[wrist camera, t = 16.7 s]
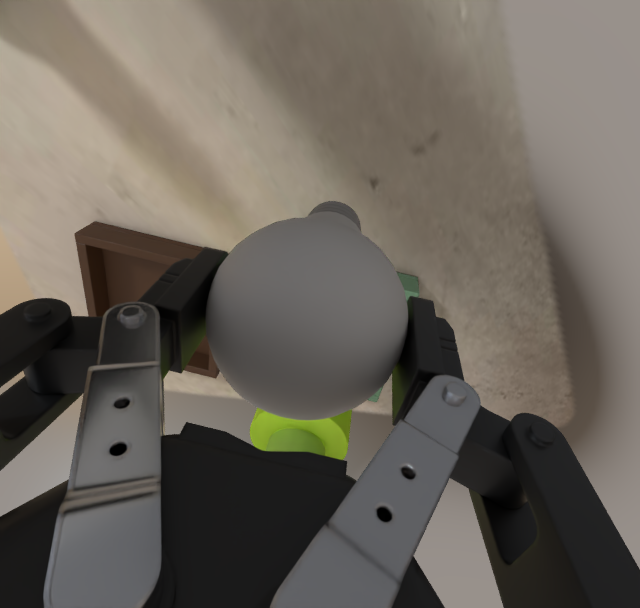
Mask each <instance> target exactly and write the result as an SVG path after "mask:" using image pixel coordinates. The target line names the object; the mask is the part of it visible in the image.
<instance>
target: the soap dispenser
mask: <svg viewBox="0 0 640 608" xmlns="http://www.w3.org/2000/svg"><path fill="white" fill-rule="evenodd" d="M351 413H352V409H351V410H348V411H346V412H344V413H341V414H339V415H337V416H334V417H330V418H325V419H320V420H294V419H289V418H284V417H280V416H277V415H274V414H271V413H268V412H266V411H264V410H262V409H259V408H257V410H256V413H255V416H254V418H253V421H252V424H251V427H250V437H251V441H252V443H253V445H254V447H256V448H258V449H260V450H263V451H297V452H311V453H315V454H319V455H324V456H328V457H332V458H336V459H340V460H343V459H344V457H345V455H346V453H347V450H348V442H349V433H350V432H349V431H350V422H351Z"/></svg>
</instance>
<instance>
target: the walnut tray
mask: <svg viewBox="0 0 640 608" xmlns="http://www.w3.org/2000/svg"><path fill="white" fill-rule="evenodd" d="M75 240H76V242H77V243H76V245H77V251H78V256H79V262H80V268H81V274H82V280H83V286H84V292H85V298H86V303H87V309H88V315H89V317H103V316H104V314H105V312H106V311H107V310H108V309H110V308H111V307H113V306H115V305H118V304H121V303H125V302H137V301H138V300H139V299H140V298H141V297H142V296H143V295H144V293H145V292H146V291H147V290H148V289H149V288H150V287H151V286H152V285H153V284H154V283H155V282H156V281H157V280H159V278H160V277H161V276H162V275H163V274H164V273H165V271H166V270H167V269H168V268H169V267H170V266H171V265H172V264H173V263H175V262H177V261H180V260H182V259H184V258H186V257H187V258H191V259H194V258H195V257H196V256H197V255H198V254H199V253H200V251H201V250H202V249H203V248H202V247H198V246H194V245H190V244H185V243H181V242H177V241H173V240H169V239H165V238H161V237H157V236H152V235H148V234H144V233H140V232H136V231H132V230H128V229H124V228H119V227H115V226H111V225H107V224H103V223H99V222H93V223H91V224H90V225H88V226H86V227H84V228H83V229H81V230H79V231H78V232H76V233H75ZM228 255H229V254H228ZM184 370H185V371H189V372H193V373H197V374H201V375H205V376H209V377H213V378H216V377H217V376H218V374H219V372H220V370H219V368H218V366H217V364H216V363H215V361H214V358H213V355H212V353H211V350H210V346H209V343H208V339H207V336H206V335H205V336H204V338H203V339H202V341H201V343H200V344H199V346H198V347H197V349H196V351H195V352H194V354H193V356H192V357H191V359H190V360H189V362H188V364H187V365H186V367H185V369H184Z"/></svg>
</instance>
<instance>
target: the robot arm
mask: <svg viewBox="0 0 640 608" xmlns="http://www.w3.org/2000/svg"><path fill="white" fill-rule="evenodd" d="M227 256H228V253H227V252H225V251H221V250H217V249H212V248H208V247H204V248H203V249H202V250H201V251H200V253H199V254H198V255H197V256H196V257H195V258H194V259H191V258H187V257H186V258H184V259H182V260H180V261H177V262H175V263H173V264H172V265H171V266H170V267H169V268H168V269H167V270H166V271H165V273H164V274H163V275H162V276H161V277H160V278H159V280H157V281H156V282H155V283H154V284H153V285H152V286H151V287H150V288H149V289H148V290H147V291H146V292H145V293H144V295H143V296H142V297H141V298H140V299H139V300H138V301H137V302H125V303H121V304H118V305H115V306H113V307H111V308H110V309H108V310H107V311H106V312H105V314H104V316H103V317H86V316H72V314H71V309H70V307H69V305H68V304H67V303H65V302H63V301H61V300H57V299H52V298H40V299H34V300H29V301H26V302H23V303H20V304H18V305H16V306H15V307H13V308H12V309H10V310H8V311H6V312H5V313H3V314H1V315H0V387H1V386H3V385H4V384H5V383H7V382H8V381H9V380H11V379H12V378H13V377H14V376H16V375H17V374H19V373H20V372H21V371H24V374H25V377H23V378H22V379H21V380H20V381H18V382H17V383H16V384H14V385H13V386H12V387H10V388H9V389H8V390H7V391H5V392H4V393H2V394H1V395H0V471H1V470H2V469H3V468H4V467H5V466H6V465H7V464H8V463H9V462H10V461H11V460H12V459H13V458H15V457H16V456H17V455H18V454H19V453H20V452H21V451H22V450H23V449H24V448H25V447H26V446H27V445H28V444H30V442H32V441H33V440H34V439H35V438H36V437H37V436H38V435H39V434H40V433H41V432H42V431H43V430H45V429H46V428H47V427H48V426H49V425H50V424H51V423H52V422H53V421H54V420H55V419H56V418H57V417H58V416H59V415H60V414H62V413H63V412H64V411H65V410H66V409H67V408H68V407H69V406H70V405H71V404H72V403H73V402H74V401H76V400H77V399H78V398H79V397H80V396H81V395H82V394H83V393H84V395H83V401H82V407H81V413H80V418H79V424H78V430H77V436H76V442H75V447H74V453H73V459H72V465H71V470H70V476H69V480H67V481H65V482H63V483H61V484H59V485H58V486H56V487H54V488H52V489H50V490H49V491H47V492H45V493H43V494H41V495H39V496H37V497H36V498H34V499H32V500H30V501H28V502H26V503H25V504H23V505H21V506H19V507H17V508H15V509H13V510H12V511H10V512H8V513H6V514H4V515H2V516H1V517H0V608H445V607H444V606H443V604H442V603H441V601H440V599H439V597H438V596H437V594H436V592H435V591H434V589H433V588H432V586H431V584H430V583H429V581H428V579H427V578H426V576H425V575H424V573H423V571H422V570H421V568H420V566H419V565H418V563H417V561H416V560H415V558H414V556H413V555H414V553H415V551H416V549H417V547H418V545H419V543H420V540H421V538H422V536H423V534H424V532H425V530H426V527H427V525H428V523H429V521H430V519H431V517H432V515H433V512H434V510H435V508H436V506H437V504H438V502H439V500H440V497H441V495H442V493H443V491H444V489H445V487H446V485H447V482H448V480H449V478H451V479H453V480H455V481H457V482H459V483H460V484H462V485H464V486H466V487H467V488H469V492H470V496H471V499H472V502H473V506H474V509H475V513H476V516H477V519H478V522H479V526H480V529H481V533H482V536H483V539H484V543H485V546H486V549H487V553H488V556H489V560H490V563H491V566H492V570H493V573H494V576H495V580H496V583H497V586H498V590H499V593H500V596H501V600H502V603H503V607H504V608H640V569H639V567H638V566H637V564H636V562H635V560H634V559H633V557H632V555H631V553H630V552H629V550H628V548H627V546H626V545H625V543H624V541H623V539H622V537H621V536H620V534H619V532H618V530H617V529H616V527H615V525H614V524H613V522H612V520H611V518H610V516H609V515H608V513H607V511H606V509H605V508H604V506H603V504H602V502H601V500H600V499H599V497H598V495H597V493H596V492H595V490H594V488H593V486H592V485H591V483H590V481H589V479H588V478H587V476H586V474H585V472H584V471H583V469H582V467H581V465H580V463H579V462H578V460H577V458H576V456H575V455H574V453H573V451H572V449H571V448H570V446H569V444H568V442H567V441H566V439H565V437H564V436H563V435H562V433H561V432H560V431H559V430H558V429H557V428H556V427H555V426H554V425H552V424H551V423H550V422H548V421H547V420H545V419H543V418H541V417H539V416H536V415H533V414H529V413H520V414H517V415H516V416H514V418H513V419H512V420H511V421H509V420H507V419H505V418H502V417H500V416H498V415H496V414H494V413H492V412H490V411H488V410H487V409H485V408H484V407H482V406H481V405H480V404H481V402H480V398H479V396H478V394H477V393H476V391H475V390H474V389H473V388H472V387H471V386H470V385H469V384H468V383H466V382H465V381H464V377H463V373H462V368H461V363H460V359H459V354H458V352H457V350H458V349H457V345H456V343H455V342H456V340H455V335H454V331H453V329H452V328H451V326H450V325H449V324H448V322H447V321H446V320H445V319H443V318H439V317H436V315H435V309H434V303H433V301H431V300H427V299H423V298H418V297H414V296H410V297H409V299H408V301H407V306H408V331H407V337H406V340H405V344H404V347H403V350H402V354H401V357H400V360H399V361H398V363H397V365H396V367H395V368H394V370H393V372H392V408H393V425H395V427H394V429H393V430H392V432H391V433H390V434H389V436H388V437H387V439H386V440H385V442H384V443H383V444H382V446H381V447H380V449H379V450H378V452H377V453H376V454H375V456H374V457H373V459H372V460H371V461H370V463H369V464H368V466H367V467H366V469H365V470H364V471H363V473H362V475H361V476H360V477H359V479H358V480H357V481H356V480H355V479H353V478H352V477H350V476H348V475H346V467H347V461H344V460H340V459H336V458H332V457H328V456H324V455H319V454H315V453H311V452H297V451H263V450H260V449H258V448H256V447H254V446H252V445H250V444H249V443H246V442H244V441H243V440H241V439H238V438H237V437H235V436H233V435H231V434H229V433H227V432H225V431H221V430H216V429H213V428H208V427H204V426H200V425H196V424H192V423H188V422H186V424H185V426H184V427H183V429H182V431H181V433H180V434H174V435H165V419H164V381H163V379H164V377H165V376H166V374H167V373H168V371H169V370H170V371H174V372H178V373H182V372H183V370H184V369H185V367H186V365H187V364H188V362H189V360H190V359H191V357H192V356H193V354H194V352H195V351H196V349H197V347H198V346H199V344H200V343H201V341H202V339H203V338H204V336H205V335H206V321H205V319H206V305H207V300H208V295H209V291H210V287H211V284H212V281H213V279H214V277H215V275H216V273H217V271H218V268H219V266H220V265H221V264H222V262H223V261H224V260H225V258H226V257H227Z"/></svg>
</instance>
